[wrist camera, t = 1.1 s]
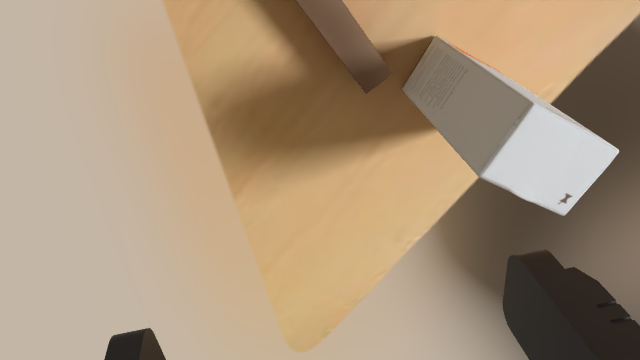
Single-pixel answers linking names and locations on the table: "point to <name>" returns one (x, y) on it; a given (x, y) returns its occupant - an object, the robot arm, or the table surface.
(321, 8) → the wooden u-shaped block
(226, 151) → the table surface
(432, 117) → the skincare box
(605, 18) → the table surface
